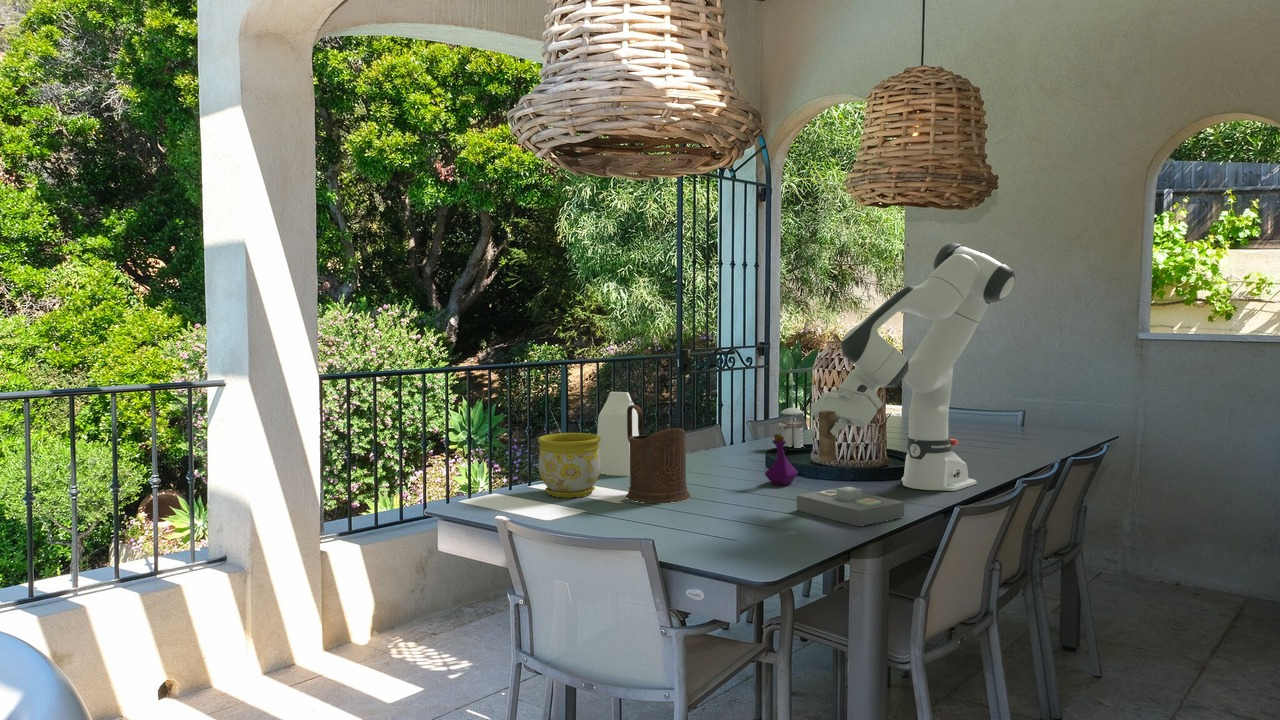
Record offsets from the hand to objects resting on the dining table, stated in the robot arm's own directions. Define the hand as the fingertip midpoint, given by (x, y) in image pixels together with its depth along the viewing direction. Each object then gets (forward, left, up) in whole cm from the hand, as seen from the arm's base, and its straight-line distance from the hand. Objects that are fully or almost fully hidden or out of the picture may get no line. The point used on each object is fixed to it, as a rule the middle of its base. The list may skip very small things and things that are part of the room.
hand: (825, 432), depth 242 cm
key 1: (0, +2, -19) cm, 19 cm away
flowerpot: (+46, -57, -20) cm, 76 cm away
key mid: (0, +8, -17) cm, 19 cm away
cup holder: (+28, -41, -20) cm, 53 cm away
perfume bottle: (-12, -31, -20) cm, 39 cm away
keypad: (0, +8, -20) cm, 22 cm away
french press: (-57, -75, -20) cm, 96 cm away
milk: (+17, -76, -20) cm, 80 cm away
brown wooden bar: (-1, 0, -7) cm, 7 cm away
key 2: (0, +15, -19) cm, 24 cm away
